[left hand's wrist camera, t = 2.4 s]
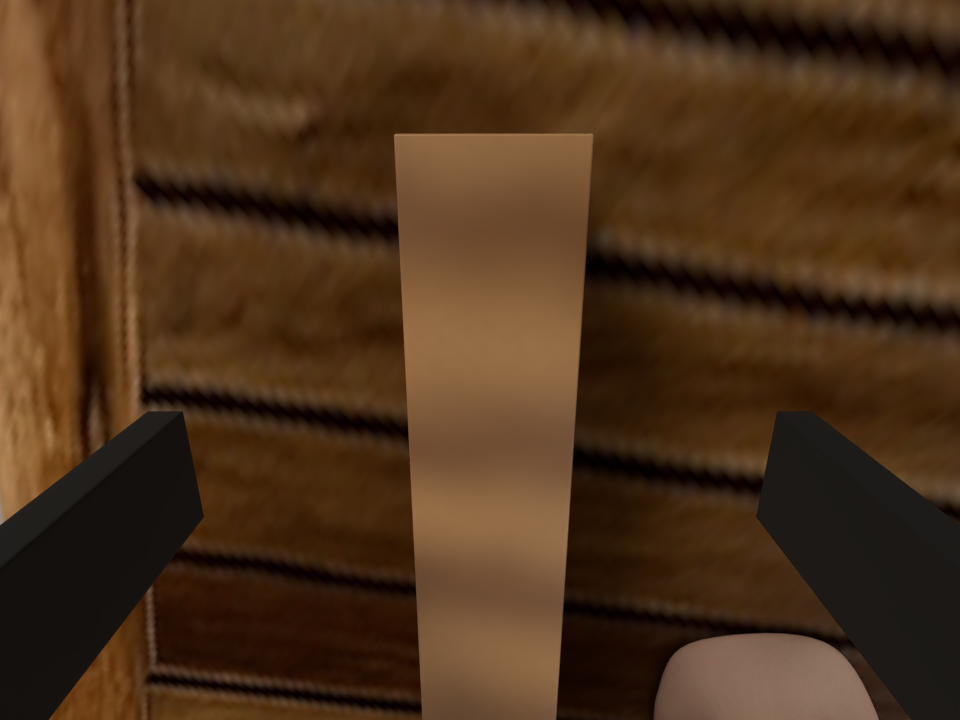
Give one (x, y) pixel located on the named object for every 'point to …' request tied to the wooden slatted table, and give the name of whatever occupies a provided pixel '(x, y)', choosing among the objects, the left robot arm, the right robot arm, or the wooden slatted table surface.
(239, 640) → the wooden slatted table surface
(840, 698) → the anatomical model
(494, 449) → the beam
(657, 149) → the wooden slatted table surface
